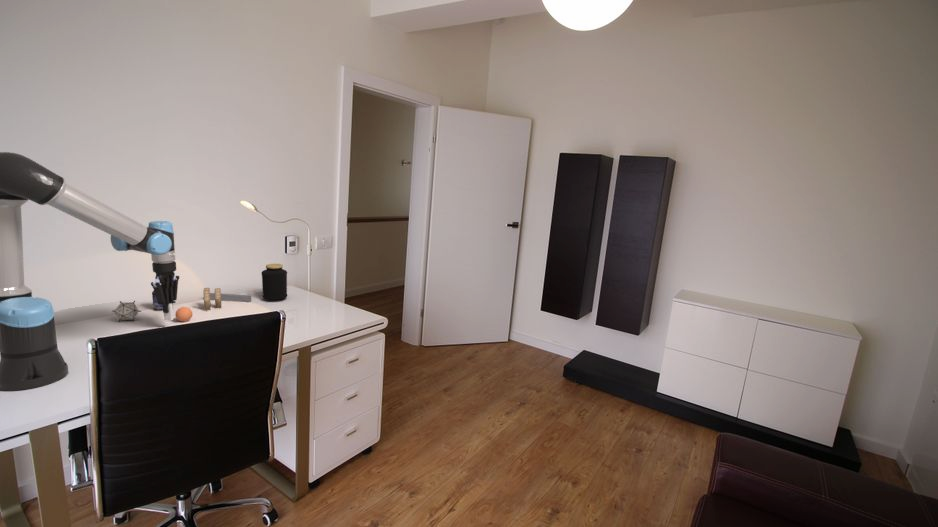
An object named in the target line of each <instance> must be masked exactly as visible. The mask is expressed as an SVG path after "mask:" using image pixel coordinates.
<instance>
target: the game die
mask: <svg viewBox="0 0 938 527" xmlns="http://www.w3.org/2000/svg"><path fill="white" fill-rule="evenodd" d="M135 303H136V300H134V301H133V302H122V301H119V304H118V306H117V307H116V308H115V309H114V310H112V311H111V312H113V313H115V315H116V316H117V318H118V319H119V320H118V321H119V322H121V321H131V320H132V321H133V320H134V319H135V317H136V316H137V315H138V314H139V312H142V310H139V309H138V308H139V307H137V305H136V304H135Z"/></svg>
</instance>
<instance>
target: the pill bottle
mask: <svg viewBox="0 0 938 527" xmlns="http://www.w3.org/2000/svg"><path fill="white" fill-rule="evenodd" d="M151 296H152V306H153V311H157V312H158V311H162V312H163V305H160V304H158V303H157V299H156V296H155V292H154V290H153V291H152V292H151Z"/></svg>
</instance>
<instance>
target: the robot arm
mask: <svg viewBox="0 0 938 527" xmlns="http://www.w3.org/2000/svg"><path fill="white" fill-rule="evenodd" d="M29 201H31V202H34V203H36V204H37V205H40V206H46V205H48V206H49V207H52V208H55V209H56V210H59V211H60V212H63V213H64V214H67V215H69V216H71V217H73V218H75V219H77V220H79V221H81V222H83V223H85V224H88V225H90V226H92V227H94V228H96V229H98V230H100V231H102V232H104V233H106V234H108V235H110V243H111V244H110V245H111V246H112V248H113V249H114V250H116V251H117V252H123V251H124V252H127V251H136V252H139V253H140V252H141V253H146V254H150V255H151V257H150V258H151V261H152V264H151V266H152V272H153V273H155V278H154V279H155V280H154V281H151V282H150V285H151V287H152V288H153V291H154V292H155V296H156V299H157V303H158V304H160V305H163V310H162V312H163V320H164V321H173V320H174V319H175V317H174V304H176V303H177V302H176V301H177V299H178V288H179V286H178V285H179V281H180V275H176V274H175V271H177V262H176V250H175V237H174V236H175V233H174V232H175V231H174V227H173V226H174V225H173V223H172V222H171V221H167V220H157V221H156V220H155V221H149V222H148V225H147V226H145V225H144V224H142V223H140V222H138V221H137V220H134V219H133V218H130V217H129V216H127V215H125V214H124V213H121V212H120V211H118V210H116V209H114V208H112V207H111V206H108V205H107V204H105V203H104V202H101V201H100V200H97V199H95V198H93V197H92V196H91V195H88V194H86V193H85V192H83V191H80V189H79V190H78V189H77V188H76V187H74V186H71V185H70V184H67V183H66V180H65V178H64V177H62V176H60V175H59V174H57V173H56V172H54V171H52V170H50V169H48V168H47V167H45V166H43V165H41V164H40V163H38V162H36V161H35V160H33V159H31V158H29V157H26V156H24V155H22V154H20V153H17V152H16V153H15V152H9V151H0V390H1V391H8V392H9V391H10V392H11V391H13V392H14V391H22V390H23V391H24V390H30V389H34V388H39V387H43V386H47V385H49V384H52V383H55V382H57V381H60V380H61V379H64V378H65V377H67V375H69V364H68V363H67V362H65V359H64V357H63V355H62V354H61V352H60V350H59V349H58V340H57V332H56V323H55V322H56V321H55V310H54V308H53V304H52V302H50V301H49V300H48V299H45V298H44V297H33V292H32V291H33V290H32V289H31V288H29V287H28V286H26V285H25V268H24V249H23V224H22V222H23V221H22V206H23V205H24V204H26V203H27V202H29Z"/></svg>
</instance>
